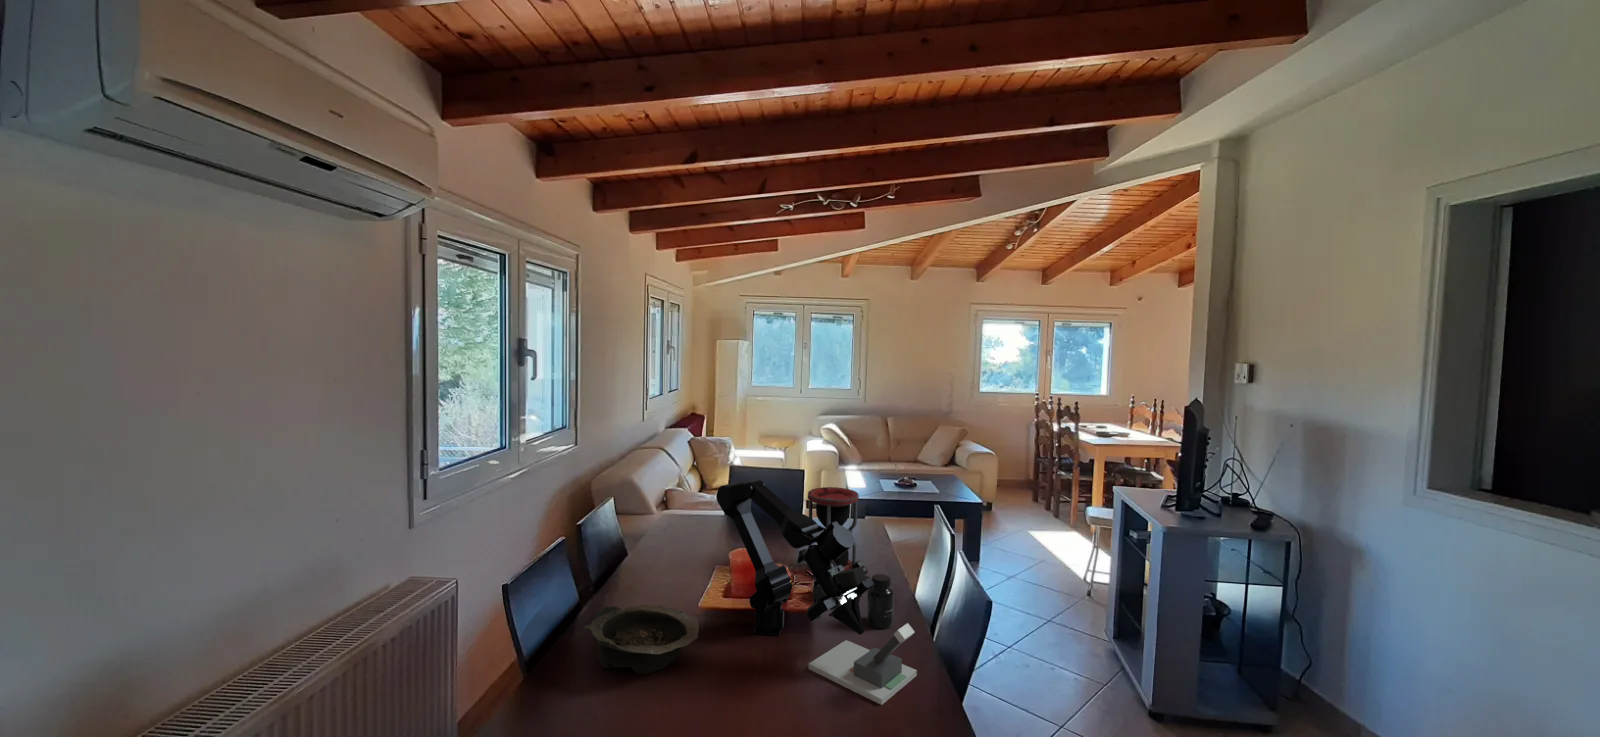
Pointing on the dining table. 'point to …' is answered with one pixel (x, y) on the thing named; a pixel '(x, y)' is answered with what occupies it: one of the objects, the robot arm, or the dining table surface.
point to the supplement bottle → (880, 602)
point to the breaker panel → (846, 678)
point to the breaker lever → (894, 642)
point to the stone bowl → (641, 636)
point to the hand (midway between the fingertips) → (862, 633)
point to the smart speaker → (817, 592)
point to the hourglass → (835, 513)
